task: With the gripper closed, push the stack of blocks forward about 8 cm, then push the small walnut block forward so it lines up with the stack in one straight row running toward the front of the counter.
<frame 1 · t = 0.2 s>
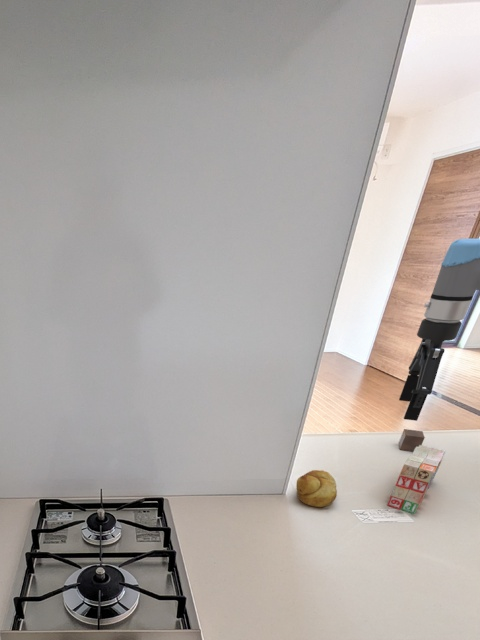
hand: (407, 409, 110), 21 cm above the worktop, tool pointing down, fingers open, 13 cm apart
bread roll: (314, 498, 116), on the worktop
walnut block: (408, 447, 138), on the worktop
stack of blocks: (410, 493, 117), on the worktop
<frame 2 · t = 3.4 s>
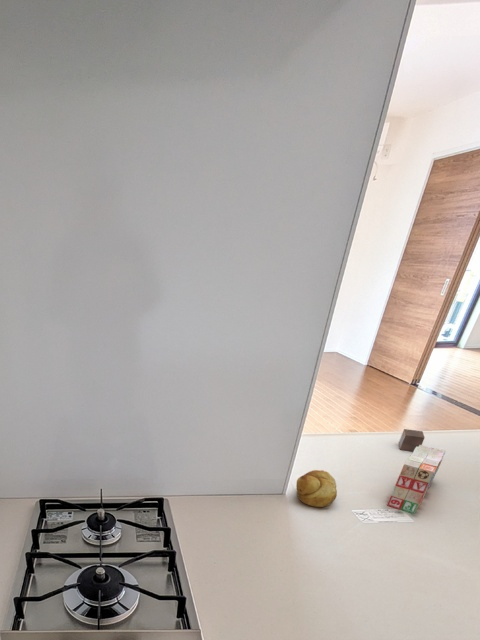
nothing on the worktop moved.
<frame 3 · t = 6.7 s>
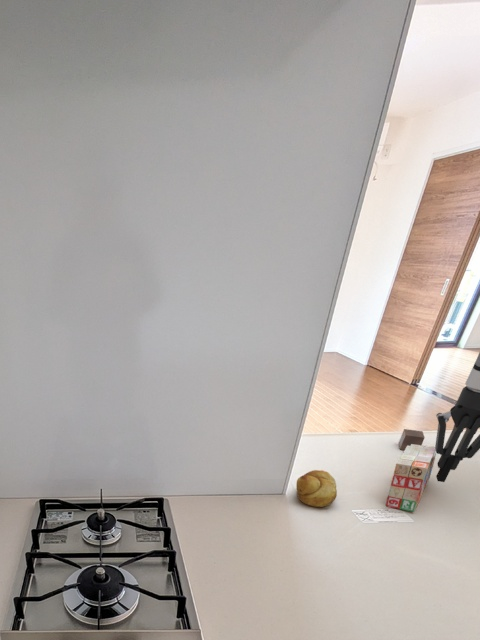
hand: (440, 479, 112), 5 cm above the worktop, tool pointing down, fingers closed
stack of blocks: (408, 492, 117), on the worktop, touching hand
everything else where it was.
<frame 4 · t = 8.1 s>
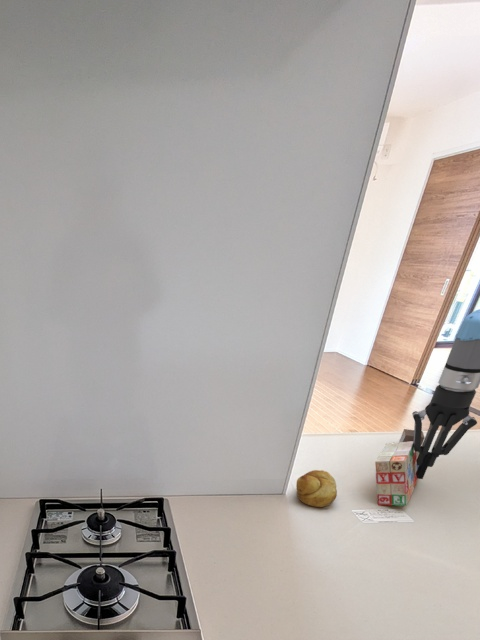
hand: (419, 476, 113), 5 cm above the worktop, tool pointing down, fingers closed
stack of blocks: (400, 488, 117), point 1 cm above the worktop, touching gripper, hand
everything else where it was.
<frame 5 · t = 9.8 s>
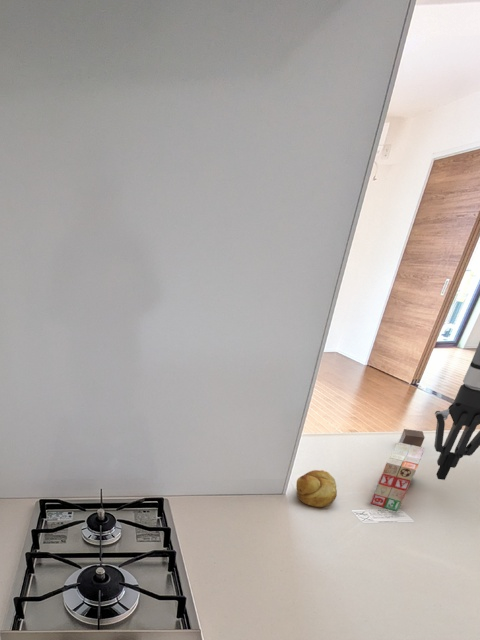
hand: (440, 476, 112), 6 cm above the worktop, tool pointing down, fingers closed
stack of blocks: (391, 490, 118), on the worktop
everything else where it was.
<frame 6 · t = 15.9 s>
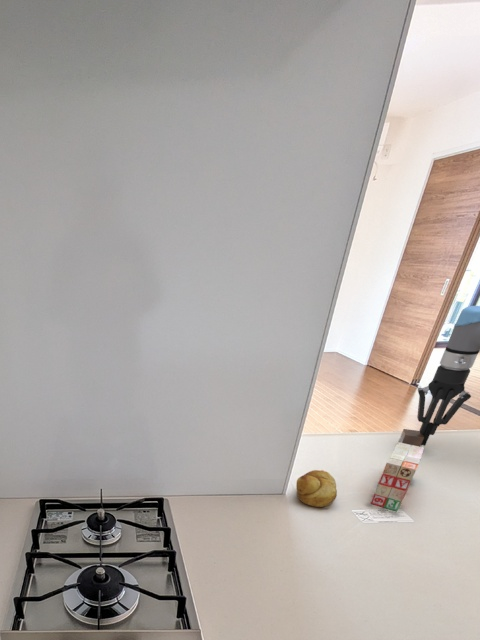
hand: (422, 443, 136), 2 cm above the worktop, tool pointing down, fingers closed
walnut block: (407, 447, 138), on the worktop, touching gripper
everything else where it was.
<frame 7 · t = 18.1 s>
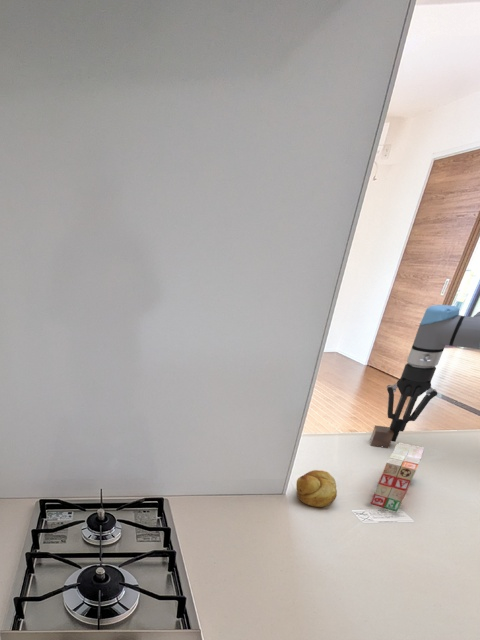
hand: (392, 439, 139), 2 cm above the worktop, tool pointing down, fingers closed
walnut block: (379, 443, 141), on the worktop, touching gripper
everything else where it was.
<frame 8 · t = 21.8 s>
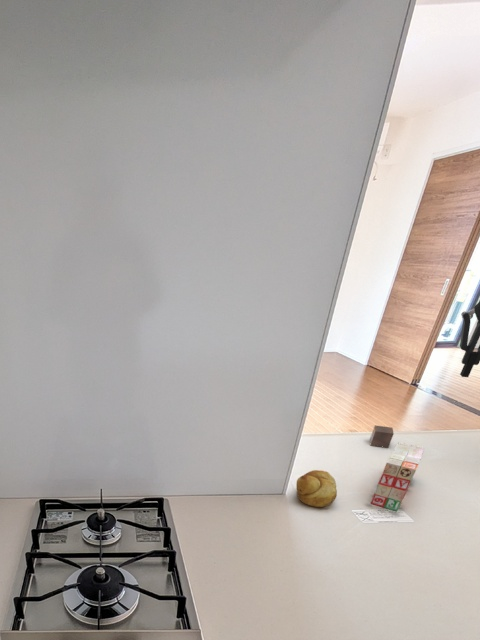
hand: (464, 375, 126), 22 cm above the worktop, tool pointing down, fingers closed
walnut block: (378, 443, 141), on the worktop
everything else where it was.
at the end: stack of blocks inside the target area (4.2 cm from its centre), on the worktop; stack of blocks tilted 0° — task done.
